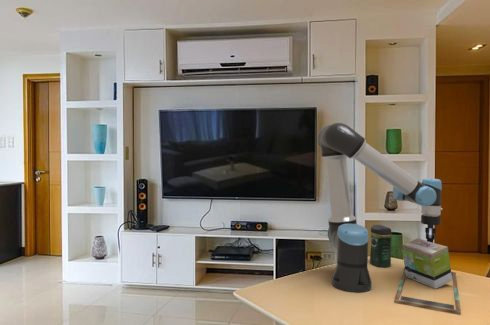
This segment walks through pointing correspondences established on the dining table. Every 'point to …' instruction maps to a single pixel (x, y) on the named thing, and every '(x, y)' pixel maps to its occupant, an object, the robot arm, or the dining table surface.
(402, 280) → the tray
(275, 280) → the dining table surface
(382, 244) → the coffee jar
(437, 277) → the tea box
